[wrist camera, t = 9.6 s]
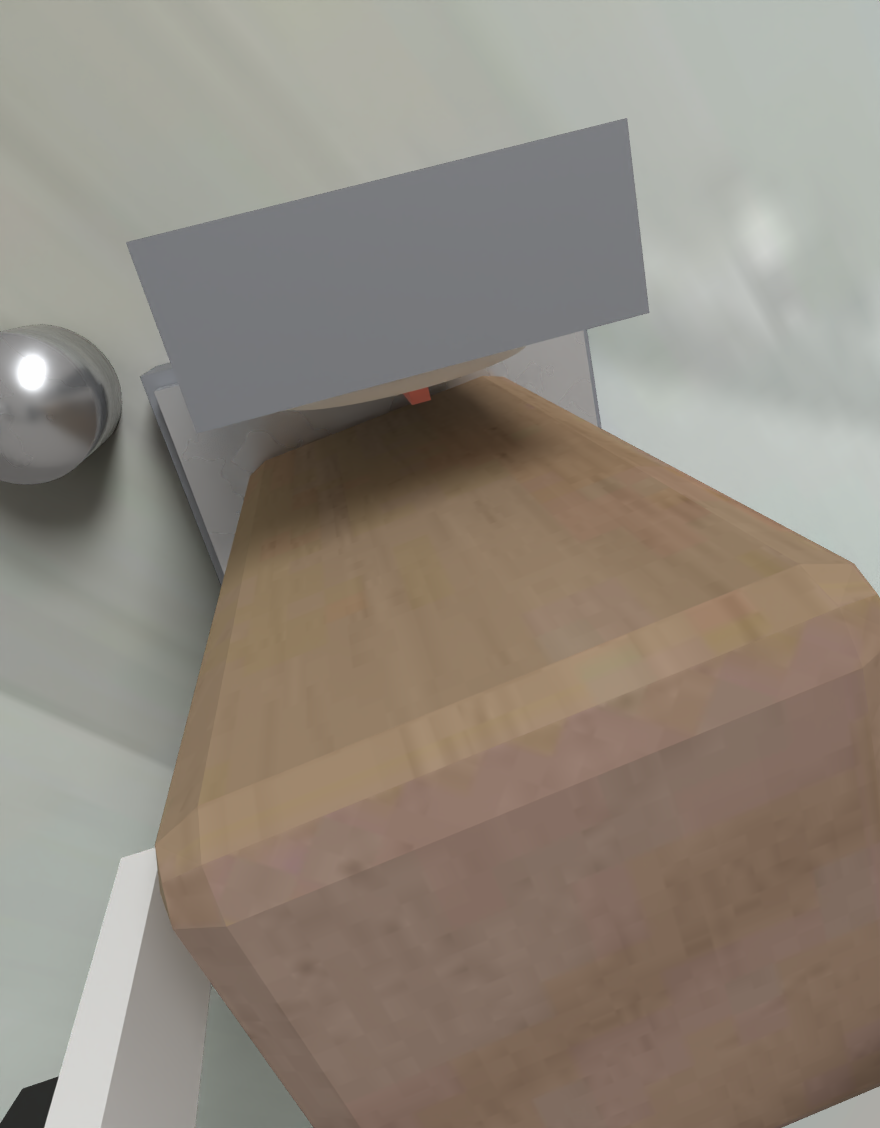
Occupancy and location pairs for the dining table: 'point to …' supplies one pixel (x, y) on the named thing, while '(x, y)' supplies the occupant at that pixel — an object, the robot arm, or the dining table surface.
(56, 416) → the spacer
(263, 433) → the pan
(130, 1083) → the robot arm
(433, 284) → the base
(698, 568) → the wooden block
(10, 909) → the dining table surface
